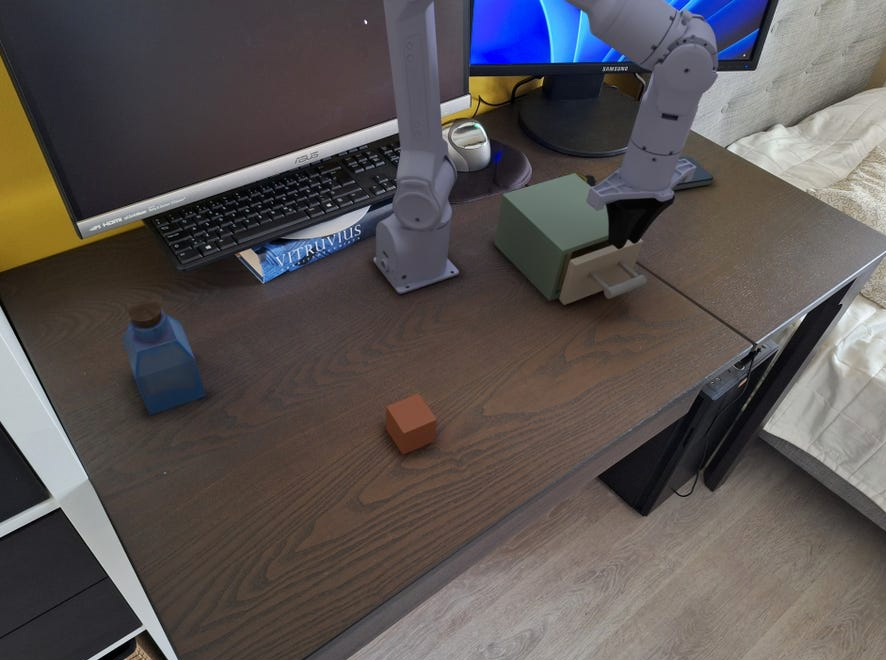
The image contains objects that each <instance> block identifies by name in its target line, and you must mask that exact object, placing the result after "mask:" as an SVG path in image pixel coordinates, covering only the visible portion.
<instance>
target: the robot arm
mask: <svg viewBox="0 0 886 660" xmlns="http://www.w3.org/2000/svg"><path fill="white" fill-rule="evenodd" d="M563 1H564V2H566V3H567V4H569V5H571V6H573V7H574V8H576V9H577V10H579V11H581V12H582V13H585V14H586V16H587V20H588V27H589V33H590V34H591V35H592V36H593V37H596V39H598V40H600V41H601V42H602V43H604V44H605V45H607V46H609V47H610V48H612V49H613V50H615V51H616V52H617V53H619V54H621V55H622V56H624V57H625V58H626V59H628V60H630V61H631V62H632V63H634V64H636V65H637V66H639V67H640V68H642V69H644V70H648V71H651V75H650V78H649V83H648V86H647V88H646V91H645V92H644V94H643V96H642V98H641V101H640V104H639V108H638V112H637V114H636V118H635V121H634V123H633V127H632V131H631V134H630V137H629V139H628V144H627V147H626V150H625V153H624V156H623V159H622V164H621V165H620V166H621V167H620V166H619V167H620V168H619V167H618V168H617V169H616V170H615V171H613V172H612V173H611V174H610V175H609V176H607V177H606V178H605V179H603V180H602V181H601V182H599V183H598V184H595V185H596V186H593V187H590V190H589V193H588V197H587V201H586V202H587V203H588V204H589V205H590V206H591V207H593V208H594V209H595V210H596V211H599V210H602V209H604V206H605V205H606V208H607V213H608V241H609V242H610V243H611V244H612V245H614V246H615V247H616V248H617V249H621V248H623V247H624V245H625V244H626V242H627V240H629V241H631V242H632V243H633V244H635V243H637V242H638V241H639V240H640V239H642V238H643V236H644V234H645V233H646V232H647V230H648V229H649V228H650V227H651V225H652V224H653V223H654V221H655V220H656V219H657V218H658V217H659V216H660V215H661V214H662V213H663V212H665V210H666V209H668V208H669V207H670V206H671V205H673V204H674V201H675V199H676V196H675V191H674V190H671V189H672V188H673V187H674V186H675V185H677V184H678V183H679V182H680V181H681V180H682V181H683V182H689V181H691V179H692V177H693V175H694V172H695V170H696V166H695V165H693V164H692V163H690V162H689V161H687V160H686V159H682V160H679V158H680V157H681V155H682V153H683V151H684V147H685V145H686V142H687V139H688V138H689V137H688V136H689V134H690V130H691V129H692V126H693V124H694V121H695V119H696V116H697V113H698V110H699V103H700V102H701V99H702V97H703V95H704V94H705V93H706V92H707V91H709V90H710V89H711V87H713V85H714V84H715V82H716V81H717V79H718V77H719V74H718V73H717V71H718V67H719V55H718V54H719V53H718V47H717V40H716V35H715V32H714V30H713V28H712V27H711V25H710V24H709V23H708V22H707V21H706V20H705V18H704V16H702V15H701V14H696V13H693V12H692V11H689V10H688V9H687V8H682V10H681V11H680V10H679V9H677V8H676V7H674V6H672V5H671V4H670V3H669V2H667V1H665V0H563ZM382 2H383V9H384V17H385V26H386V35H387V36H386V37H387V44H388V53H389V61H390V68H391V69H390V70H391V78H392V79H391V80H392V86H393V94H394V95H393V96H394V104H395V113H396V121H397V128H398V138H399V146H400V153H399V160H398V164H397V171H396V191H395V194H394V196H393V198H392V203H391V205H392V211H393V213H392V214H391V215H389V216H388V217H386V218H384V219H382V220H381V221H378V222H377V224H376V226H375V256H374V257H373V260H372V261H373V263H374V264H375V265H376V267H377V268H378V269H379V270H380V272H381V274H382V275H383V276H384V277H385V278H386V280H387V281H388V282H389V284H390V285H391V286H392V287H393V289H394V290H395V291H396V293H397V294H400V295H402V294H405V293H408V292H412V291H414V290H419V289H420V288H423V287H426V286H429V285H432V284H435V283H438V282H441V281H444V280H447V279H450V278H454V277H456V276H459V274H460V272H459V269H458V268H457V267H456V266H455V265H454V264H453V262H451V260H450V259H449V258H448V255H449V245H450V237H451V235H450V234H451V227H452V217H453V216H452V215H453V210H452V205H450V204H451V203H450V201H449V196H450V194H451V192H452V189H453V187H454V186H455V184H456V181H457V178H458V171H457V167H456V164H455V163H454V161H453V160H452V158H451V155H450V152H449V143H448V142H447V140H446V139H445V138H444V137H443V123H442V107H441V94H440V93H441V92H440V91H441V90H440V79H439V77H440V76H439V63H438V50H437V47H438V46H437V34H436V33H437V32H436V19H435V3H434V2H435V0H383V1H382Z"/></svg>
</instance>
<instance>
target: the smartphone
mask: <svg viewBox="0 0 886 660" xmlns="http://www.w3.org/2000/svg"><path fill="white" fill-rule="evenodd" d="M682 159H686V160H687V161H689V162H690V163H692V164H693V165H695V166H696V170H695V172H694V175H693V177H692V179H691V181H689V182H683V181H682V180H681V181H680V182H679V183H678V184H677V185H675V186H674V187H673V188H672V189H671V190H672V191H677V190H684V189H688V188H689V189H690V188H695V187H702V186H707V185H711V184H712V182H713V181H714V176H712V174H711V173H710V172H709V171H708V170H706V169H705V168H704V167H703V166H702V165H701V164H700V163H698V161H696V160H695V159H693V158H692V157H690V156H687V155H685V156H680V158H679V160H682ZM621 166H622V165H620V166H619V167H618V169H619V168H620V167H621Z"/></svg>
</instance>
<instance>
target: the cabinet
mask: <svg viewBox="0 0 886 660" xmlns="http://www.w3.org/2000/svg"><path fill="white" fill-rule="evenodd" d="M572 173H573V174H570V175H567V176H563V177H560V178H558V177H557V178H553V179H549V180H546V181H543V182H539V183H536V184H533V185H529V186H526V187H522V188H519V189H515V190H512V191H508V192H504V193H502V195H501V201H500V207H499V212H498V219H497V225H496V226H497V227H496V232H495V237H494V246H496V247H497V249H498V250H499V251H500V252H501V253H502V254H503V255H504V256H505V257H506V258H507V259H508V260H509V261H510V262H511V263H512V264H513V266H515V267H516V269H518V270H519V271H520V272H521V274H522V275H523V276H524V277H525V278H526V279H527V280H528V281H529V282H530V283H531V284H532V285H533V286H534V287H535V288H536V289H537V290H538V291H539V292H540V293H541V294H542V295H543V296H544V298H546V299H547V301H548V302H551V301H553V300H556V299H559V298H560V294H561V290H562V289H560V290H557V286H558V282H559V278H560V275H561V271H562V267H563V263H564V260H565V256H566V254H568V253H570V252H573V251H576V250H579V249H582V248H585V247H588V246H591V245H593V244H596V243H599V242H602V241H605V240H608V213H607V208H606V205H605V206H604V209H602V210H599V211H596V210H595V209H594V208H593V207H591V206H590V205H589V204H588V203H587V202H586V201H587V197H588V193H589V190H590V187H591V186H590V185H588V184H587V183H586V182H585V181H584V180H582V179H581V178H580V177H579V176H578V175H576V174H575V173H576V172H572Z"/></svg>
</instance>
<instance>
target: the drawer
mask: <svg viewBox="0 0 886 660" xmlns="http://www.w3.org/2000/svg"><path fill="white" fill-rule="evenodd" d="M643 245H644V240H643V239H642V238H641V239H640V240H639V241H638V242H637V243H635V244H633V243H632V242H631V241H629V240H627V242H626V244H625V245H624V247H623V248H621V249H617V248H616V247H615V246H614V245H612V244H611V243H610V242H609V241H608V240H605V241H602V242H599V243H596V244H593V245H591V246H588V247H585V248H582V249H579V250H576V251H573V252H570V253H568V254H566V256H565V260H564V263H563V267H562V271H561V275H560V278H559V282H558V286H557V290H560V289H562V290H561V294H560V297H559V298H558V300H559V302H560V303H561V304H562V305H564V306H566V305H568V304H571V303H574V302H576V301H579V300H581V299H584V298H586V297H590V296H591V295H595V294H597V293H599V292H602V291H603V294H604V297H605V298H606V299H608V300H611V299H613V298H616V297H618V296H621V295H623V294H627V293H629V292H631V291H634V290H636V289H639V288H641V287H644V286H646V285H647V284H648V279H647V277H646V276H645V275H644V274H640V275H639V274H638V273H637V272H636V271H635V270H634V268H635V265H636V263H637V260H638V258H639V254H640V252H641V250H642V247H643Z"/></svg>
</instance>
